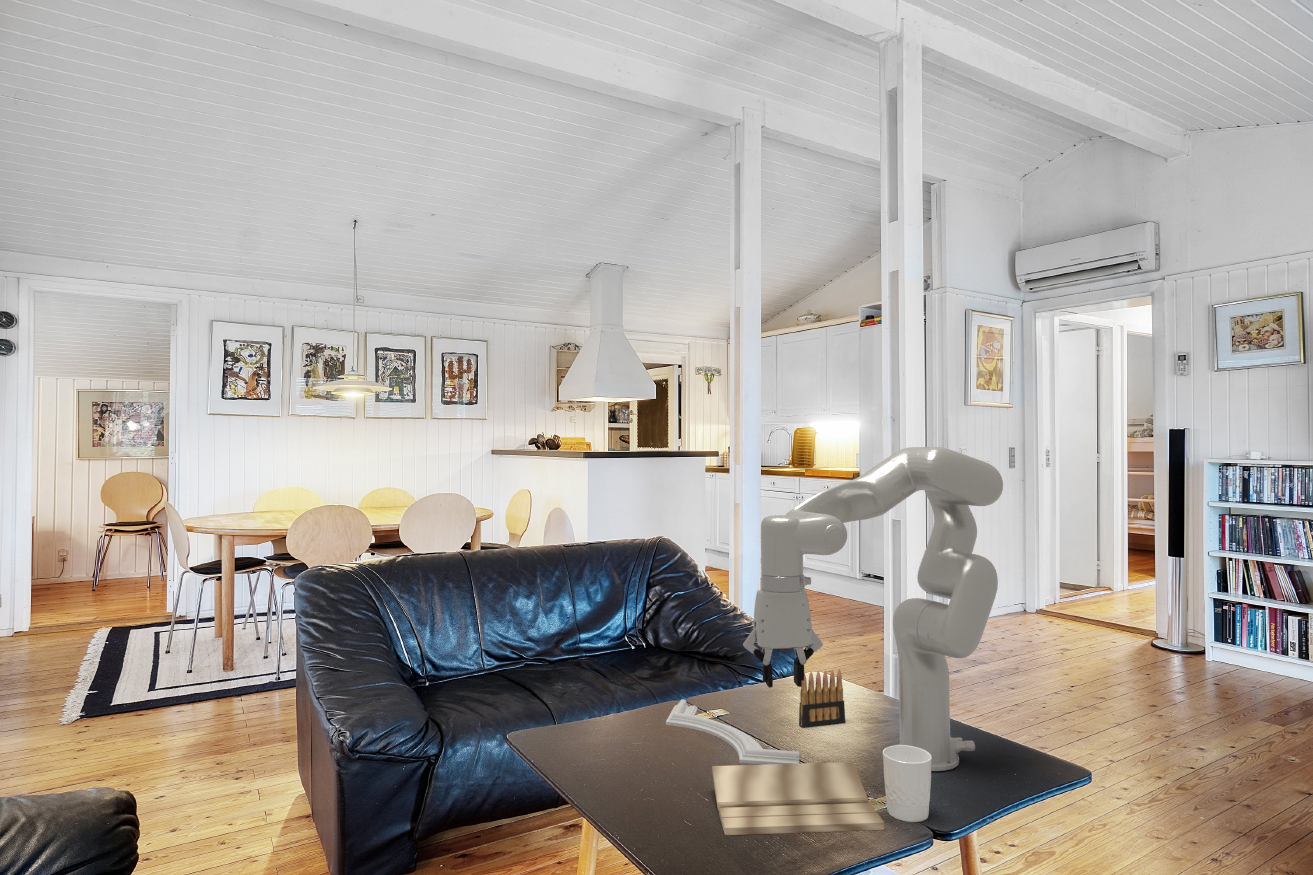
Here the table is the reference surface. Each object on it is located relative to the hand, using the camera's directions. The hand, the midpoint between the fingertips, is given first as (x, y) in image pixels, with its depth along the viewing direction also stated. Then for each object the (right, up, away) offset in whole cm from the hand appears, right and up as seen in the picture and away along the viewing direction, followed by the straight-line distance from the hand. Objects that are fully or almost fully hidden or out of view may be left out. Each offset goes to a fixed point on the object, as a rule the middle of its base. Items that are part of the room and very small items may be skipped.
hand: (783, 683), depth 139 cm
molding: (-7, -21, +28) cm, 36 cm away
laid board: (+1, -19, -12) cm, 23 cm away
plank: (0, -17, -3) cm, 18 cm away
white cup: (+20, -19, -9) cm, 29 cm away
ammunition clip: (+14, -20, +34) cm, 42 cm away
